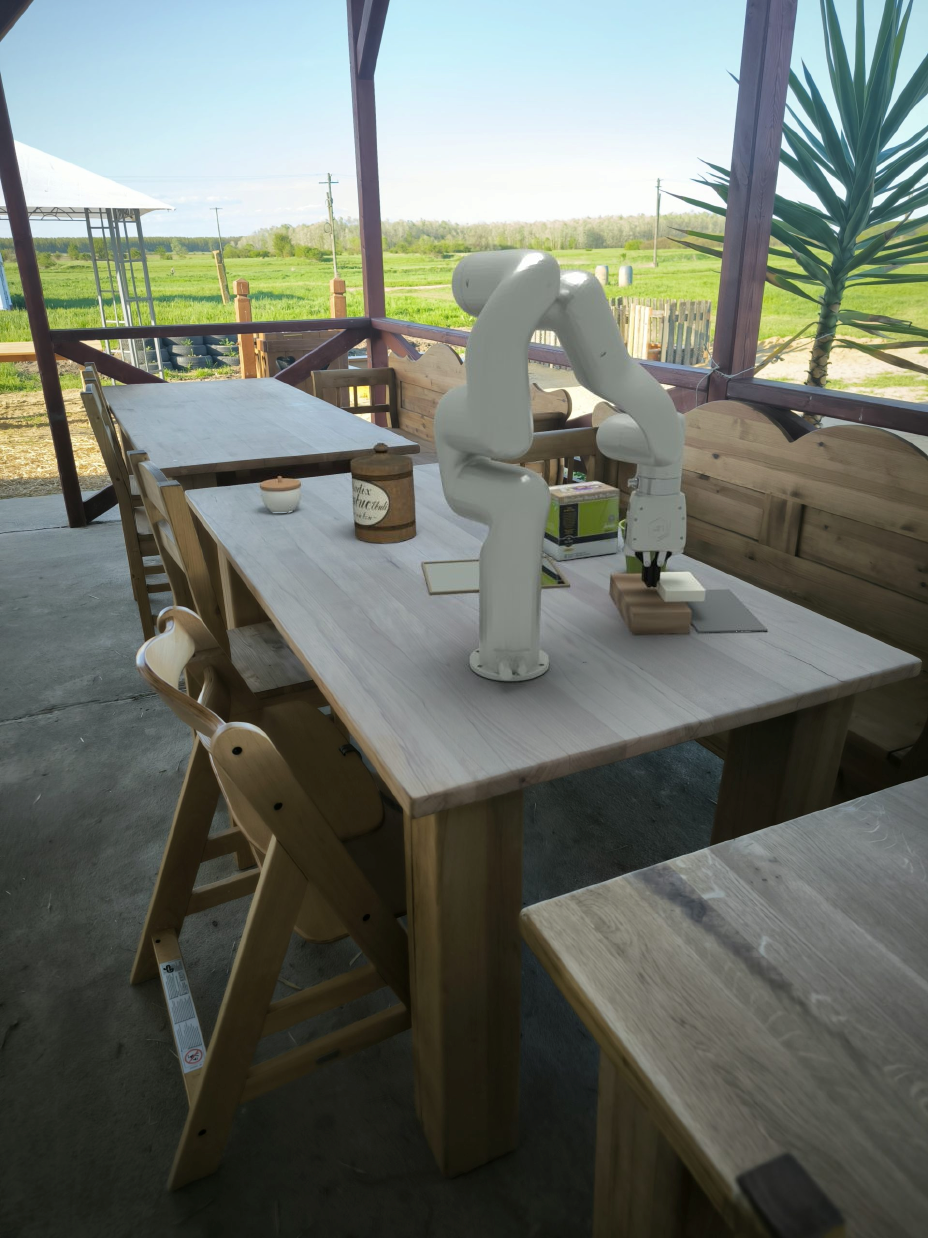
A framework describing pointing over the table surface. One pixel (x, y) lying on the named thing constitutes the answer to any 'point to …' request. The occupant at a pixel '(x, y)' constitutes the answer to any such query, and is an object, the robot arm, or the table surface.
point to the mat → (722, 614)
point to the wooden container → (383, 497)
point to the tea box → (582, 521)
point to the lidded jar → (281, 494)
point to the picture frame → (477, 576)
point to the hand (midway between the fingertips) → (650, 584)
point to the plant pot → (633, 562)
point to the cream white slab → (679, 587)
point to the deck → (647, 607)
